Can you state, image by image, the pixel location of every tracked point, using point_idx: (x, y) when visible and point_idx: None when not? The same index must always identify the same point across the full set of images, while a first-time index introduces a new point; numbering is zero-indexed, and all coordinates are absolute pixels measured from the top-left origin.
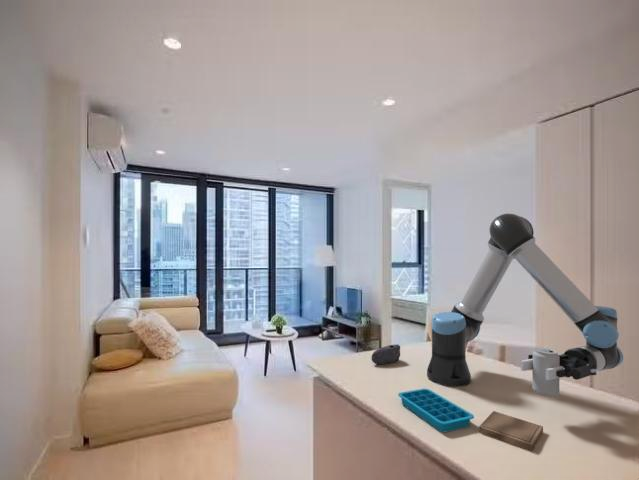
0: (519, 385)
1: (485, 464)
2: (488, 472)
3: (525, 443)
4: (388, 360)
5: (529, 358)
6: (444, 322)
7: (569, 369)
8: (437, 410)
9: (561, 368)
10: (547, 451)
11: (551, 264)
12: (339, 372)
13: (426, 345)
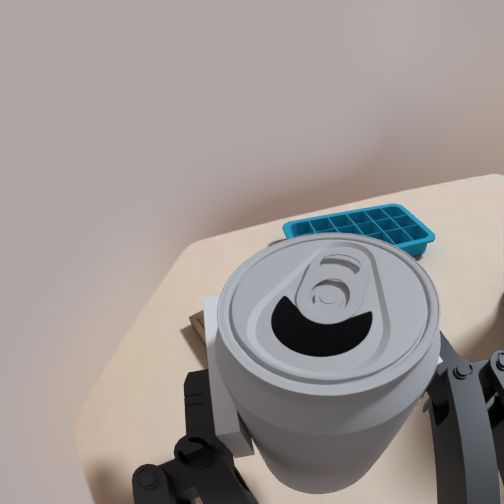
0: None
1: (198, 256)
2: (184, 253)
3: (200, 313)
4: None
5: (484, 362)
6: None
7: (186, 462)
8: (332, 229)
9: (216, 415)
10: (181, 351)
11: None
12: (482, 187)
13: None
